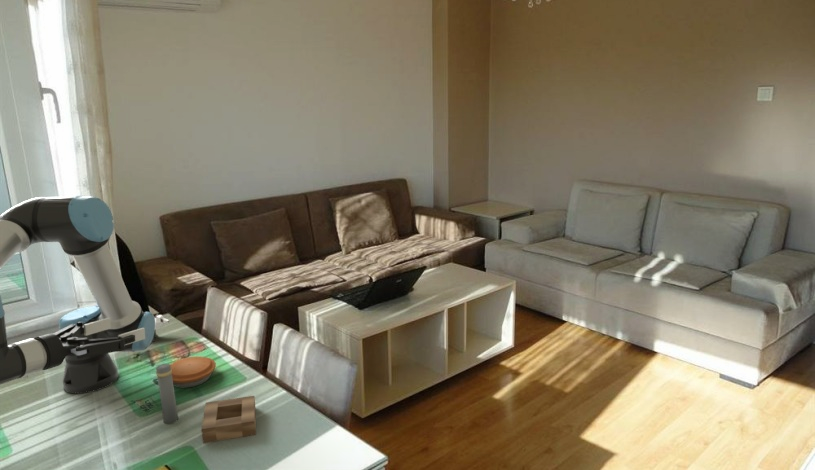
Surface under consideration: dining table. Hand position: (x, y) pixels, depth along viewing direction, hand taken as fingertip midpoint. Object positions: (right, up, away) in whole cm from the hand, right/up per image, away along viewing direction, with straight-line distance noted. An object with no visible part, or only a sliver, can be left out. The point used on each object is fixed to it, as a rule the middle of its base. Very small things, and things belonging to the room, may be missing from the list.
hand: (126, 328), depth 144 cm
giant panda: (-23, -15, +64) cm, 70 cm away
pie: (+3, -22, +36) cm, 42 cm away
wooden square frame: (+23, -28, +10) cm, 37 cm away
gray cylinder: (+6, -27, +13) cm, 31 cm away
